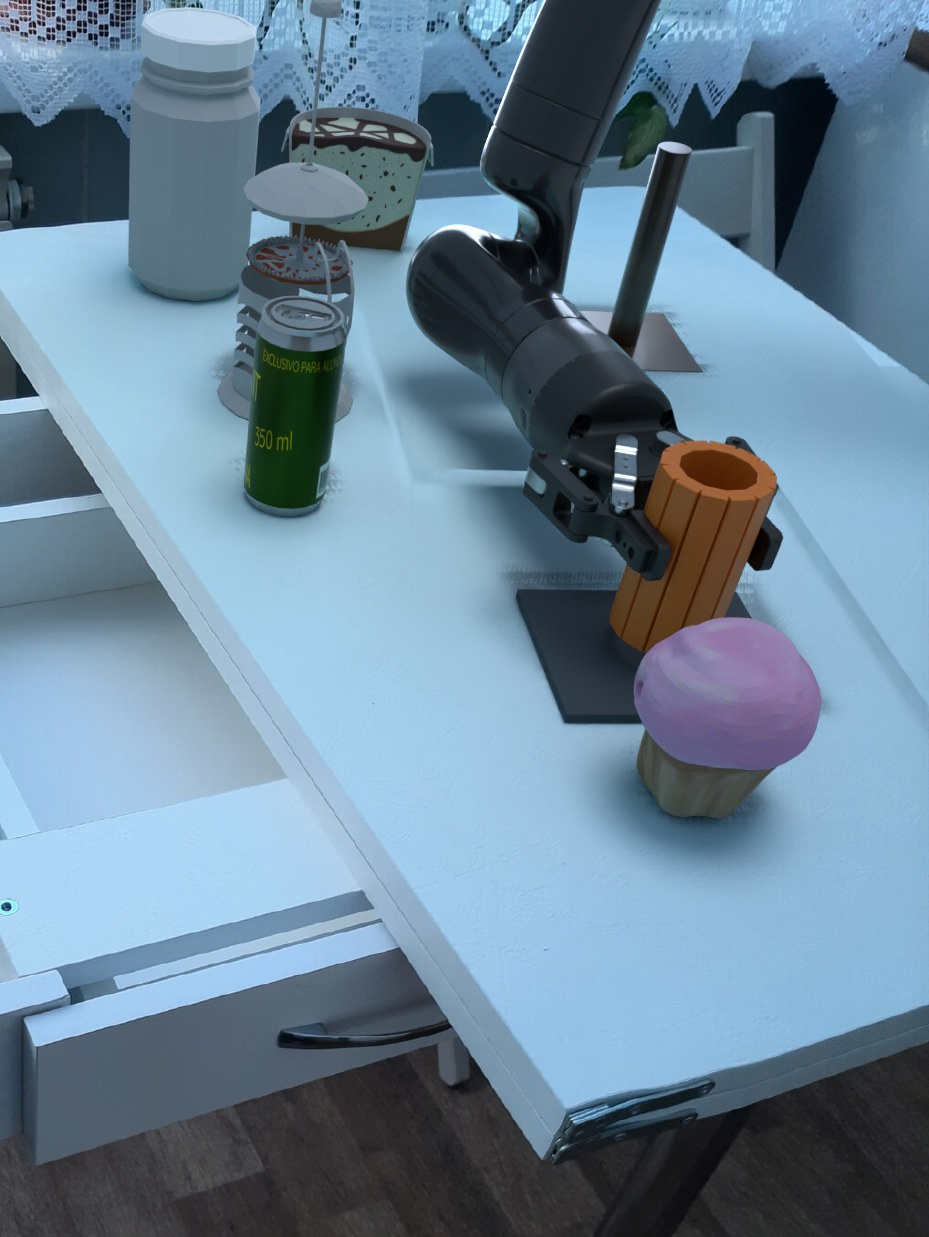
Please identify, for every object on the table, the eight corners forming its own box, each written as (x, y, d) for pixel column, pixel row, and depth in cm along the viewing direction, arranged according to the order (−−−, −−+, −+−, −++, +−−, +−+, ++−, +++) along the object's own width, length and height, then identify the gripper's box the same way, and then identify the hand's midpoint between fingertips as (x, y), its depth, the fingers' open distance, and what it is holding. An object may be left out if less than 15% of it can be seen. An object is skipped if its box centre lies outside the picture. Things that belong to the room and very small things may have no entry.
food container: (413, 238, 121) (433, 113, 114) (417, 267, 117) (438, 139, 110) (273, 225, 121) (284, 98, 114) (271, 253, 117) (283, 123, 109)
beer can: (328, 482, 92) (352, 301, 83) (319, 524, 88) (343, 340, 79) (248, 470, 92) (264, 289, 83) (236, 512, 88) (251, 327, 80)
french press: (318, 357, 104) (365, -34, 86) (387, 432, 97) (454, 23, 79) (197, 371, 101) (219, -31, 83) (259, 450, 94) (297, 29, 76)
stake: (659, 328, 112) (719, 126, 102) (698, 387, 106) (767, 177, 95) (540, 324, 111) (588, 119, 100) (572, 383, 105) (627, 171, 94)
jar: (108, 290, 109) (109, 29, 96) (152, 245, 116) (159, -4, 103) (225, 316, 108) (243, 55, 95) (263, 269, 114) (285, 19, 101)
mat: (733, 599, 86) (736, 590, 86) (804, 722, 78) (808, 714, 78) (515, 597, 84) (517, 588, 84) (564, 723, 76) (567, 714, 76)
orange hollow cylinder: (650, 585, 83) (704, 429, 75) (734, 634, 80) (798, 477, 72) (588, 620, 80) (639, 461, 72) (673, 672, 77) (734, 512, 69)
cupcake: (742, 744, 76) (810, 590, 69) (792, 856, 70) (872, 700, 63) (585, 740, 75) (637, 583, 68) (621, 852, 70) (682, 694, 62)
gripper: (488, 353, 80) (615, 509, 69) (707, 342, 83) (861, 489, 73) (463, 471, 85) (576, 632, 75) (669, 456, 89) (807, 608, 78)
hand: (716, 561), depth 74 cm, fingers closed on orange hollow cylinder, 6 cm apart
